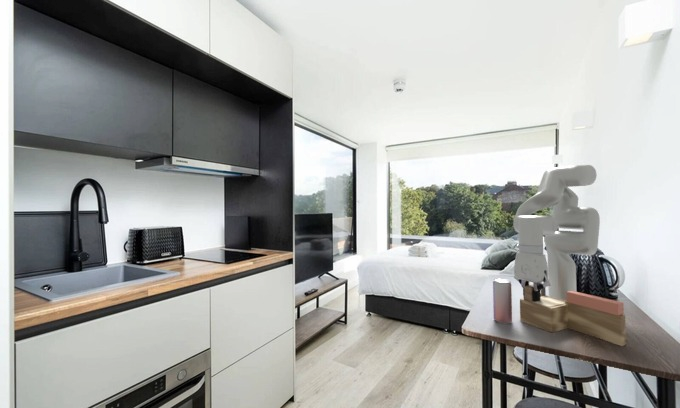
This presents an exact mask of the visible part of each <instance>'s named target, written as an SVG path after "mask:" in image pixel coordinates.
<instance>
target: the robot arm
mask: <svg viewBox="0 0 680 408" xmlns="http://www.w3.org/2000/svg"><path fill="white" fill-rule="evenodd" d="M596 179H597V170H596V168H595V167H594V166H593V165H591V164H583V165H582V164H581V165H579V164H577V165H565V166H557V167H551V168H548V169H546V170H545V171H544V173H543V174H542V176H541V180H540V183H539V185H538V188H537V191H536V194H534V195H533V196H530V197H529V198H528V199H526V200H525V201H524V202H523V203H521V204H520V205H519V206H518V208H517V210H516V213H515V216H514V218H513V224H512V225H513V229H514V231H515V232H516V233H518V244H516V249H518V251H516V254H515V257H514V258H515V260H514V266H513V269H514V270H513V274H514V275H513V278H514V279H515V280H516V281H517V282H518V283H519V284H520V285H521V286H520V287H521V288H522V295H523V296H524V286H527V285H530V283H533V284H532V285H534V290H533V291H532V299H533V301H534V302H537V301H540V293H541V290H542V289H543V288H544V287H545V288H547V287H548V296H550V297H554V298H557V299H561V300H565V301H567V292H568V291H575V292H577V266H576V262H575V261H574V259H573V258H572V257H571V255H580V256H593V255H595V254H596V253H597V251H598V247H599V246H598V245H599V237H600V235H599V234H600V223H601V221H600V218H601V217H600V213H599V211H598V210H597V209H596V208H594V207H590V206H589V207H588V206H587V207H586V206H579V197H578V195H577V194H576V193H575V192H574V191H573V190H572V189H571V187H585V186H591V185H593V184H594V183H595V181H596ZM551 207H552V215H545V214H544V215H543V214H542V215H540V214H539V215H536V214H535V215H534V213H536V212H538V211H541V210H544V209H548V208H551ZM558 229H563V230H558ZM565 229H566V230H565ZM571 230H573V231H571ZM574 230H581V231H574ZM544 243H545V249H546V254H544ZM546 255H547V257H546Z"/></svg>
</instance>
